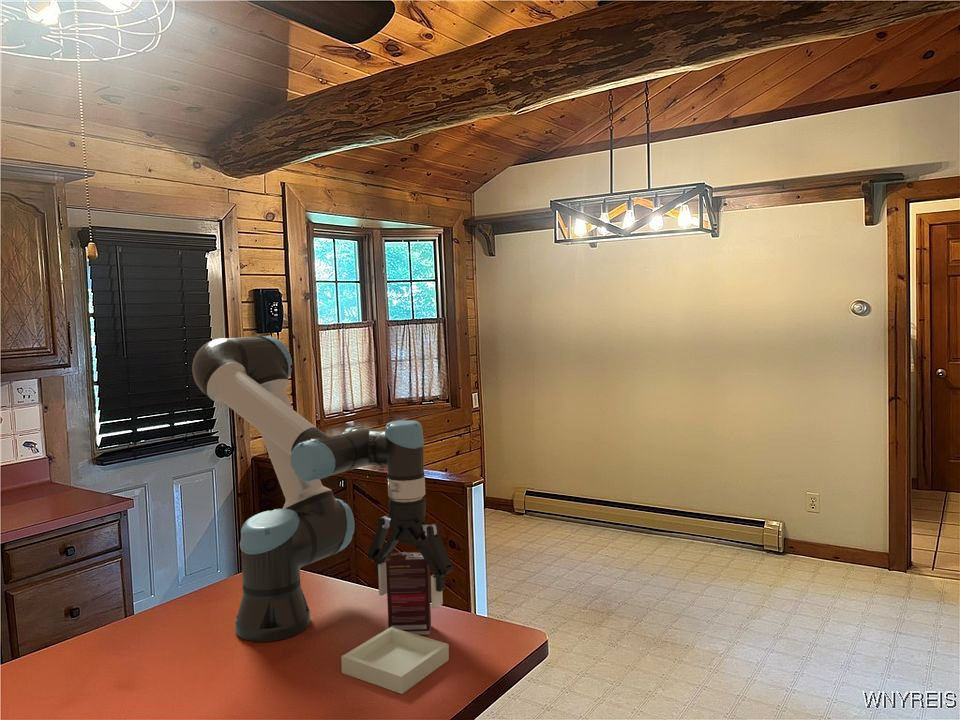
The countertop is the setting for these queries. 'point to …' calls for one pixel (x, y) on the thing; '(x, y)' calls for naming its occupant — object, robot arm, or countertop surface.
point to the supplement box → (408, 592)
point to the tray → (395, 659)
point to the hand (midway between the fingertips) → (410, 599)
